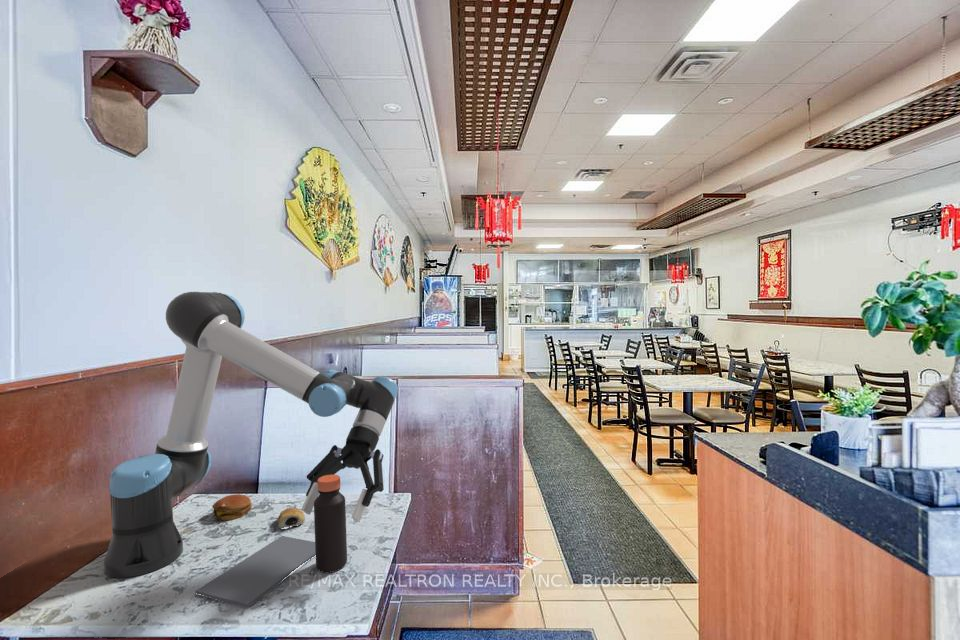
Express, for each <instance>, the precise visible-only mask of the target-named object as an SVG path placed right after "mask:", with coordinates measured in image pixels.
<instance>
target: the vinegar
mask: <svg viewBox="0 0 960 640" xmlns="http://www.w3.org/2000/svg"><path fill="white" fill-rule="evenodd" d="M317 481H318V492H319V496H318V497H317V498H316V500H315V501H314V506H313V517H314V518H313V519H314V524H313V525H314V542H315V552H316V557H315V567H316V570H317V571H319V570H320V571H319V572H321V571H323V572H322V573H326V572H328V573H333V572H332V571H334V572H336V571H335V570H337V571H339V570H341V569H343V568H344V567H345V566H346V565H345V564H347V563H348V544H347V543H348V542H347V541H348V540H347V516H346V515H347V514H346V511H347V510H346V497H345V495H343V494H342V492H340V490H341V476H340V475H338V474H334V475H325V476H322V477H320V478H319V479H318V480H317ZM344 565H345V566H344ZM343 566H344V567H343ZM342 567H343V568H342ZM340 568H341V569H340ZM338 569H339V570H338ZM330 571H331V572H330Z"/></svg>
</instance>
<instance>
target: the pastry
mask: <svg viewBox="0 0 960 640" xmlns="http://www.w3.org/2000/svg"><path fill="white" fill-rule="evenodd" d="M305 521H306V518H305V514H304V511H302V510H301V509H299V508H296V507H294V508H289V507H288V508H285V509H284V510H282V511H281V512H280V513H279V516H278V518H277V523H278V525H277V526H278V528H279V529H280V528H284V527H290V526H297V525H300V524H302V523H303V524H304V522H305ZM303 524H302V525H303ZM300 526H301V525H300ZM297 527H298V526H297Z"/></svg>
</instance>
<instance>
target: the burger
mask: <svg viewBox="0 0 960 640" xmlns="http://www.w3.org/2000/svg"><path fill="white" fill-rule="evenodd" d="M252 508H253V506H252V501H251V498H250V497H249V496H247V495H244V494H237V493H236V494H231V495H226V496H224V497H222V498H220V499H219V500H216V501H215V502H214V503H213V505H212V509H213V511H212V513H213V516H212V517H215V518H216V519H218V520H220V521H223V522H224V521H225V522H227V521H233V520H237V519H239V518H241V517H243V516H245V514H247V513H249V512H251V510H252Z"/></svg>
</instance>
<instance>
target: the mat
mask: <svg viewBox="0 0 960 640" xmlns="http://www.w3.org/2000/svg"><path fill="white" fill-rule="evenodd" d="M315 555H316V552H315V541H311V540H306V539H301V538H296V537H290V536H285V535H281V536H279V537H278V538H276V539H274V540H273V541H272V542H270V543H268V544H266V545H265V546H264V547H262V548H261V549H259V550H257V551H256V552H254V553H253V554H252V553H251V555H249V556H248V557H246V558H245V559H243V560H241V561H240V562H238V563H237V564H235V565H233V566H232V567H231V568H229V569H227V570H226V571H224V572H223V573H221V574H219V575H218V576H217V577H215V578H213V579H212V580H210V581H209V582H207V583H206V584H203V585H202V586H201V587H199V588H198V589H196V590H195V594H196V593H197V594H201V595H204V596H207V597H211V598H213V599H212V600H214V599H217V600H216V601H218V600H220V601H219V602H222V601H223V603H225V602H227V603H226V604H230V605H233V606H237V607H241V608H243V609H245V608H246V609H249V608H250V607H251V606H253V605H254V604H255V603H257V602H258V601H259V600H260V599H262V598H264V597H265V596H266V595H267V594H268V593H270V592H271V591H273V588H274V589H275V588H277V587H278V586H279V585H280V584H281V583H282V582H281V581H282V580H283V579H284V578H285V577H287V576H288V575H289V574H290V573H291V572H292V571H294V570H295V569H296V568H298V567H299V566H300V565H302V564H303V563H305V562H306V561H308V560H309V559H311V558H312V557H314V556H315ZM314 558H315V557H314ZM280 582H281V583H280ZM279 583H280V584H279ZM278 584H279V585H278ZM277 585H278V586H277ZM269 591H270V592H269ZM265 594H266V595H265ZM207 597H206V598H207Z"/></svg>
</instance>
